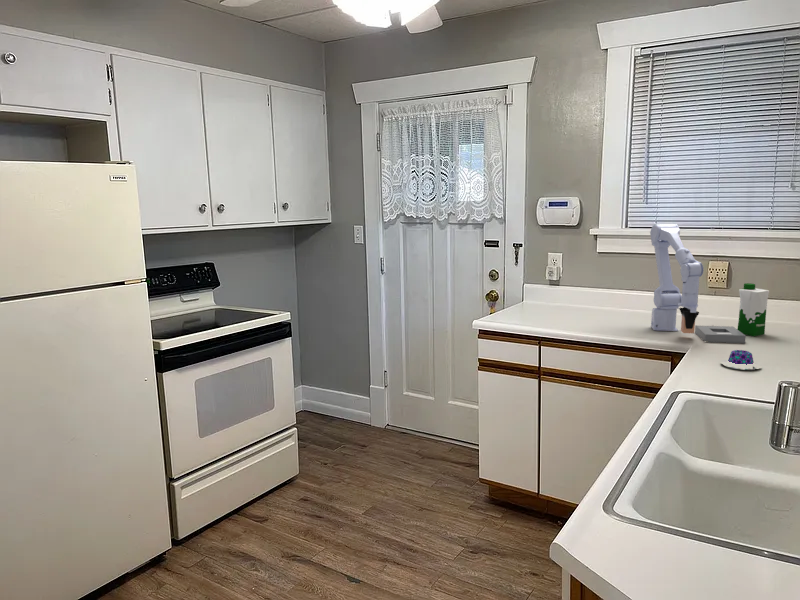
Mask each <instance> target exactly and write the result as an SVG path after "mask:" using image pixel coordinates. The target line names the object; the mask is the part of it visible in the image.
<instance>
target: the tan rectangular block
mask: <svg viewBox="0 0 800 600" xmlns="http://www.w3.org/2000/svg"><path fill="white" fill-rule="evenodd" d="M695 325H696V321H695V322H694V325H693V328H692V329H686V325H685V317H684V314H681V323H680V331H681V332H682V334H695Z"/></svg>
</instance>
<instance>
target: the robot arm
mask: <svg viewBox="0 0 800 600" xmlns="http://www.w3.org/2000/svg"><path fill="white" fill-rule="evenodd" d="M650 228H651V229H650V231H649V233H650V235H649V236H650V242H651V246H653V247H654V253H655V263H656V268H657V275H658V282H659V283H658V284H659V286H658V287H657V288H656V289H654V291H653V296H654V297H653V304H654V306H655V307H654V308H652V310H651V319H650V322H651V323H650V327H651V328H652V330H653V331H659V332H660V331H665V332H666V331H667V332H672V331H673V332H679V329H678V328H677V327H676V326H677V313H678V310H679V311H680V315H682V314H684V317H685V325H686V329H692V328H693V325H694V322H695V323H696V319H697V317H698V315H699V314H700V312H699V311H697V308H699V304H698V303H699V287H700V277H702V275H704V265H703V263H702V262H701V261H698V260H696V259H695V257H694V256H693V254H692V252H691V251H690V249H689V248H686V247H685V245H684V243H683V242H682V240H681V237H680V234H681V230H680V227H679V225H678V224H677V223H671V224H669V223H665V224H664V223H663V224H662V223H661V224H660V223H655V224H653V225H652V227H650ZM670 246H671V247H672V249H673V250H674V252H675V254H674V257H675V260H676V261H677V263H678V265H679V266H680V270H679V273H680V275H681V281H682V286H681V287H682V288H681V290H682V291H681V290H680V288H679V287H678V286H677V285H675V284H674V280H673V274H672V268H671V267H672V266H671V261H670V253H669V247H670Z"/></svg>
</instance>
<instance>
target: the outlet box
mask: <svg viewBox="0 0 800 600" xmlns="http://www.w3.org/2000/svg"><path fill="white" fill-rule="evenodd" d="M737 329H738V328H735V327H734V326H729V325H728V326H726V325H721V326H720V325H696V324H695V329H694V334H695V335H697V336H698V337H699V338H700V339H701V338H702V339H703V340H704V341H708V342H707V343H719V342H726V343H727V344H746V339H747V338H746V337H747V335H744V334H743V333H741V332H740V331H739V330H737ZM702 339H701V340H702ZM703 340H702V341H703ZM704 341H703V342H704Z"/></svg>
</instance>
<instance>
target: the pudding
mask: <svg viewBox="0 0 800 600" xmlns="http://www.w3.org/2000/svg"><path fill="white" fill-rule="evenodd" d="M727 360H728V361H729V362H732V363H735V364H746V365H747V364H753V363H755V362H754V358H753V354H752V352H750V351H748V350H742V349H734V350H731V351H730V355H729V357H728V359H727Z"/></svg>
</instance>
